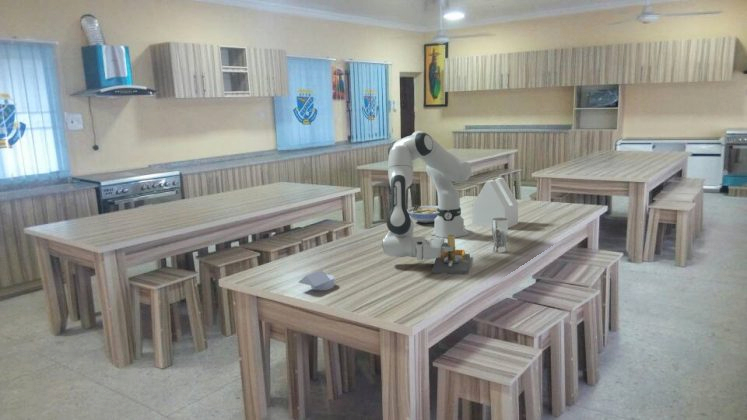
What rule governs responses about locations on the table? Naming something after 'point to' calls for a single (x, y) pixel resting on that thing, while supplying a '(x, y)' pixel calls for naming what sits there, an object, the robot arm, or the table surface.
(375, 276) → the table surface
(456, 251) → the rail board
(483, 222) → the milk carton
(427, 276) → the table surface
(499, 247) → the beer glass
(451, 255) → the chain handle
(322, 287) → the wedge on round base
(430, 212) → the ramen bowl
